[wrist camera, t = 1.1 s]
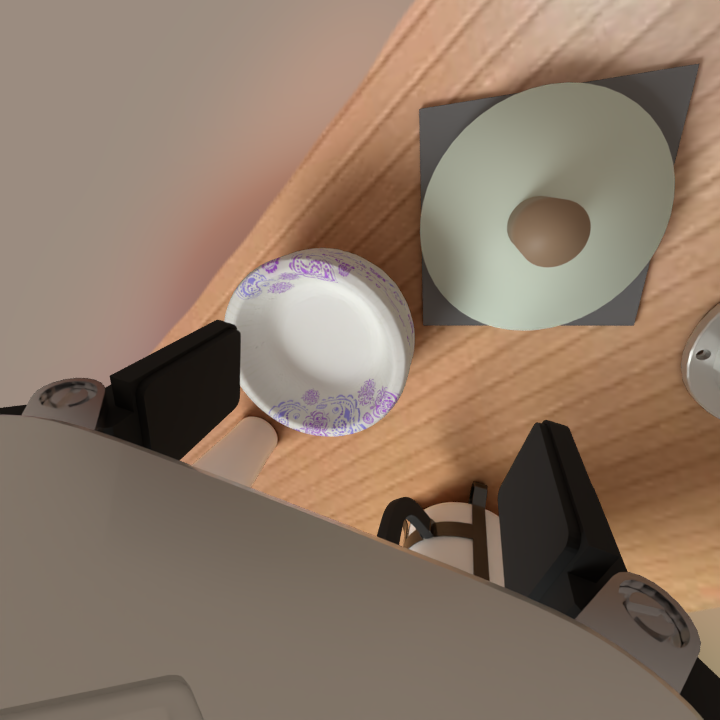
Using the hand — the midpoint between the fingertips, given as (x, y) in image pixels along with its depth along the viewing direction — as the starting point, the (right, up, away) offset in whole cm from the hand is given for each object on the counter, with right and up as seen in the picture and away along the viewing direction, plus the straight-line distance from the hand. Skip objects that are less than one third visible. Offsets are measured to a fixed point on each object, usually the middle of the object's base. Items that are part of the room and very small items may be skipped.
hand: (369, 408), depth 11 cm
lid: (+12, +12, +15) cm, 23 cm away
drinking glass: (-12, -7, +32) cm, 35 cm away
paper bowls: (-2, +5, +23) cm, 24 cm away
